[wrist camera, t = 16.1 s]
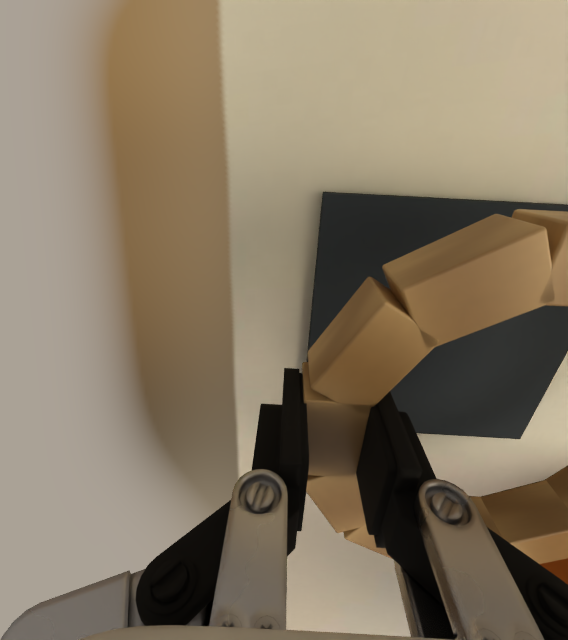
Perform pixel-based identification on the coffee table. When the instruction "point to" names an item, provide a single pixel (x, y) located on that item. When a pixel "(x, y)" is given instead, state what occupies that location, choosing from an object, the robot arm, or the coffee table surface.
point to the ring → (415, 343)
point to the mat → (457, 355)
